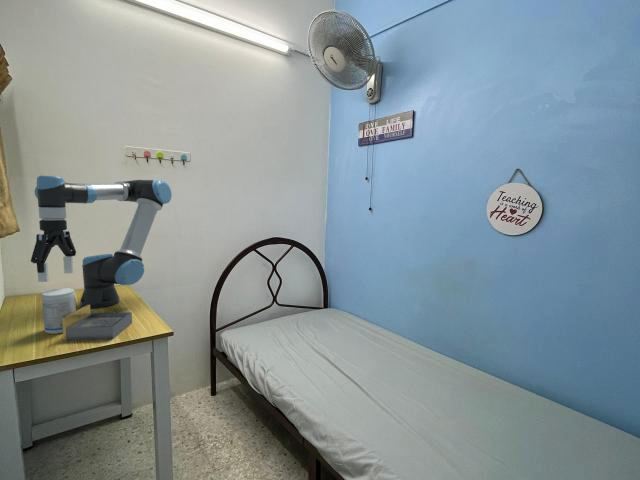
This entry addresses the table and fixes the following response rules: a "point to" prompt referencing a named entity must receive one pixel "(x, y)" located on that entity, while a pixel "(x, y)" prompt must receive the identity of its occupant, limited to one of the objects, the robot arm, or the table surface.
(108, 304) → the robot arm
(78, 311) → the gray square tray
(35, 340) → the table surface
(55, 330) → the supplement tub
